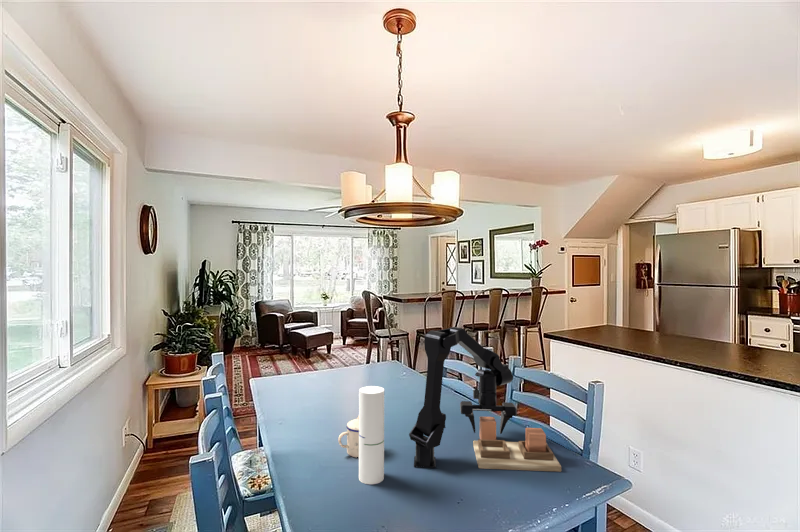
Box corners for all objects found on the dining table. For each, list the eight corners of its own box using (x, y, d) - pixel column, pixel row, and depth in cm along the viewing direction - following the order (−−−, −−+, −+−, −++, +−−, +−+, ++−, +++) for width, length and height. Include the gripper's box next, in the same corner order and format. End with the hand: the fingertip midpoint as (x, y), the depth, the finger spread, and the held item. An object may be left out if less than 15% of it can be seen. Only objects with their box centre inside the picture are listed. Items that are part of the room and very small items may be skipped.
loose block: (496, 442, 141) (496, 422, 141) (481, 442, 142) (481, 421, 142) (493, 436, 146) (493, 416, 146) (479, 436, 147) (479, 416, 147)
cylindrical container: (370, 468, 123) (371, 384, 123) (389, 476, 118) (389, 389, 118) (353, 478, 117) (353, 390, 117) (371, 487, 113) (372, 395, 113)
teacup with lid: (368, 443, 140) (368, 409, 140) (379, 454, 132) (379, 418, 132) (333, 450, 135) (334, 415, 135) (343, 462, 126) (343, 424, 126)
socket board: (561, 471, 122) (561, 442, 122) (478, 468, 124) (478, 439, 123) (546, 447, 138) (546, 422, 138) (473, 444, 139) (473, 419, 139)
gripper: (510, 382, 151) (510, 424, 151) (459, 380, 153) (458, 423, 153) (517, 391, 140) (516, 437, 140) (461, 390, 142) (461, 435, 142)
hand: (487, 433), depth 144 cm, fingers open, 9 cm apart
